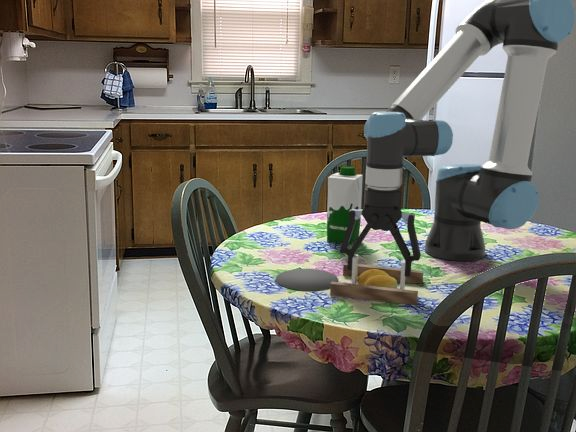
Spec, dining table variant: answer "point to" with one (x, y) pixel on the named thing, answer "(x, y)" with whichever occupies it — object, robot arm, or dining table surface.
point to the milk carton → (343, 203)
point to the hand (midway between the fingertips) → (377, 287)
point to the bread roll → (377, 279)
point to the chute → (375, 291)
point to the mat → (306, 279)
